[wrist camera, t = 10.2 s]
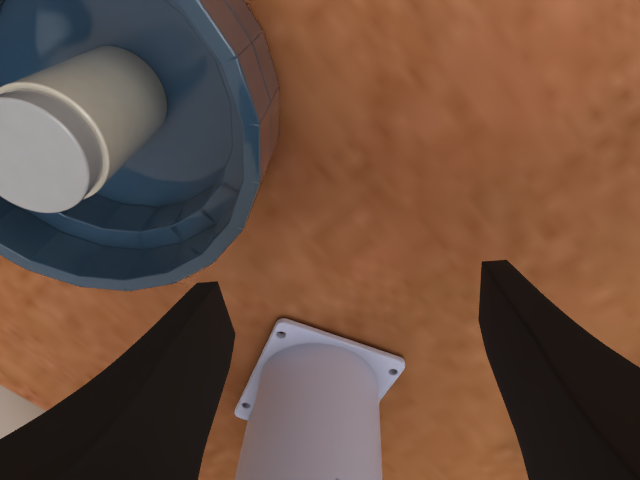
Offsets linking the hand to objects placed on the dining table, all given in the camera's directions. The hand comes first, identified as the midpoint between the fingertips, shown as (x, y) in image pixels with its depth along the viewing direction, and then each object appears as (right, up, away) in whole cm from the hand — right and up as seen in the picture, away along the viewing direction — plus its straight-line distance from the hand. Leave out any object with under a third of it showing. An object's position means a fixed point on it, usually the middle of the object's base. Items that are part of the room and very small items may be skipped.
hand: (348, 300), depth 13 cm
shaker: (-9, +8, +6) cm, 13 cm away
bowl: (-9, +8, +7) cm, 14 cm away
